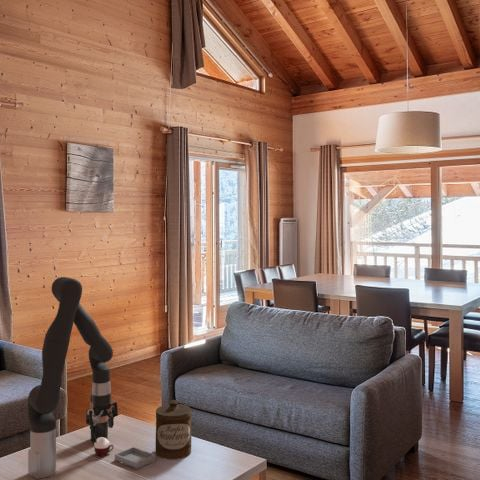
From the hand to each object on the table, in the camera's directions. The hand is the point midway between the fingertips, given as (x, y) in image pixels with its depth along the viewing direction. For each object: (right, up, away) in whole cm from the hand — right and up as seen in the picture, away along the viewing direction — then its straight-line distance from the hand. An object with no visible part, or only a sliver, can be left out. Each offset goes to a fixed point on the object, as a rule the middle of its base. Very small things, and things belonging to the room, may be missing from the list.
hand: (102, 430), depth 236 cm
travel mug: (-5, -9, +15) cm, 19 cm away
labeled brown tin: (+29, -10, +3) cm, 31 cm away
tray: (+14, -10, -6) cm, 19 cm away
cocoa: (0, -10, 0) cm, 10 cm away
